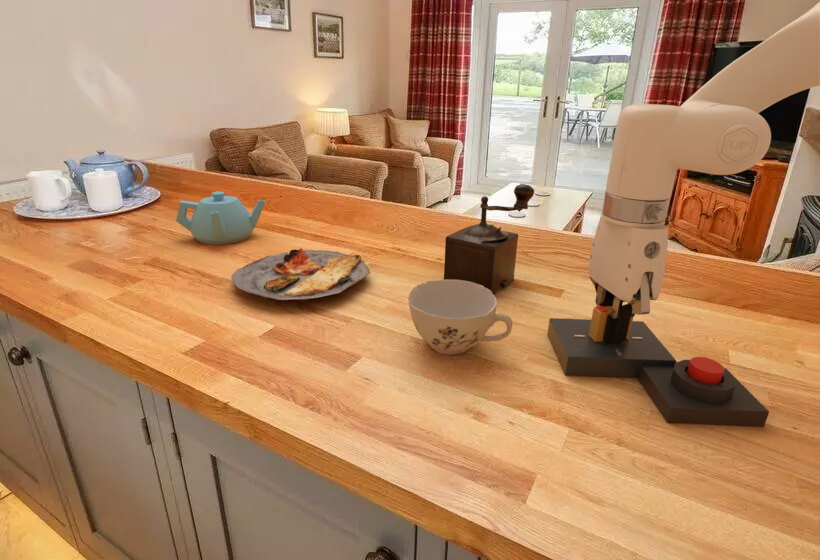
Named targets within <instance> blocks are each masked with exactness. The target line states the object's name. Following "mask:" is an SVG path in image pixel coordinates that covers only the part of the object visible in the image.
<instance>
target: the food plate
mask: <svg viewBox="0 0 820 560" xmlns="http://www.w3.org/2000/svg"><path fill="white" fill-rule="evenodd" d="M370 273H371V271H370V268H369V267H368V266H367V264H366V262H365V261H364V260H362V256H361V255H360V254H353V255H350V254H347V253H342V252H340V251H333V250H332V251H331V250H323V249H322V250H320V249H318V250H314V249H311V250H310V249H309V250H305V249H303V248H301V247H300V248H299V249H291V250H289V252H280V253H277V254H273V255H266V256H264V257H261V258H259V259H257V260H254V261H252V262H250V263H248V264H246V265H244V266H242V267H239V268H237V269H236V270H235V271H234V272H233V273H232V274H231V282H232V283H233V284H234V286H235V287H236V288H237V289H239V290H240V291H244V292H246V293H248V294H253V295H255V296H260V298H270V299H274V300H279V301H290V300H291V301H292V300H297V301H299V300H302V301H306V300H307V301H309V300H310V299H316V298H322V297H328V296H332V295H336V294H340V293H342V292H343V291H345V290H347V289H348V288H351V287H353V286H355V285H356V284H357V283H359V282H360V281H362V280H363V279H365V277H367V276H369V274H370Z"/></svg>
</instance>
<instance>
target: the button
mask: <svg viewBox="0 0 820 560" xmlns="http://www.w3.org/2000/svg"><path fill="white" fill-rule="evenodd" d="M689 360H690V362H689V366H688V370H687V374H688V376H689V377H691V378H693V379H695V380H697V381H699V382H703V383H706V384H719V383H720V382H721V379H722V376H723V373H724V368H725V367H724V365H722V364H721V363H720V362H718V361H717V360H714V359H713V358H709V357H705V356H694V357H691V358H690V359H689Z"/></svg>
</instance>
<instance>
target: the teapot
mask: <svg viewBox="0 0 820 560" xmlns="http://www.w3.org/2000/svg"><path fill="white" fill-rule="evenodd" d="M265 204H266V200H264V199H263V200H262V199H258V201H257V202H256V204H255V206H254V208H253V209H252V211H251V212H249V210H248V209H247V208H246V206H245V205H244V204H243V203H242V201H240V199H239V198H238V197H236V196H231V195H226V194H225V192H224V191H213V192H211V196H208V197H204V198H202V199H200V200H199V202H196V201H188V200H180V202H179V204H178V209H177V214H176V219H175V223H177V224H179V225H180V226H181V227H183V228H185V229H186V230H187V231H189V232H190V234H191V235H192V237H193V238H195V240H197V241H198V242H199V243H202V244H204V245H209V246H210V245H211V246H212V245H213V246H221V245H231V244H237V243H240V242H243V241H245V240H247V239H248V238H249V237H250V235H251V234H252V233H253V231H254V229H256V227H257V225H258V222H259V220H260V217H261V214H262V212H263V209H264V207H265V206H266V205H265ZM188 209H191V210H194V211H193V214H192V217H191V218H189V217H188V216H187V215H188Z"/></svg>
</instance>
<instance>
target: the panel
mask: <svg viewBox="0 0 820 560" xmlns="http://www.w3.org/2000/svg"><path fill="white" fill-rule="evenodd" d="M590 325H591V319H582V318H560V317H559V318H557V317H556V318H554V317H549V322H548V328H547V335H546V336H547V339H548V340H549V342H550V344H551V347H552V349H553V352H554V354H555V356H556V359H557V360H558V363H559V365H560V368H561V369H562V373H563V374H564V376H565V377H585V378H586V377H587V378H588V377H589V378H613V379H614V378H615V379H637V380H638V374H639V370H640V366H641V365H656V366H674V365H675V363H676V362H677V359H676V358H675V356H673V354H672V353H671V352H670V351H669V350H668V349H667V347H666V346H665V345H664V344H663V343H662V342H661V340H660V339H659V338H658V337H657V336H656V335H655V333H653V331H652V330H651V329H650V327H648V325H647V324H646V323H645V321H641V320H633V321H632V326H631V330H630V335H629V339H626V340H625V341H621V342H610V343H606V342H605V341H600V342H595V341H594V340H593V339H591V338H590V337H589V330H590Z"/></svg>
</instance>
